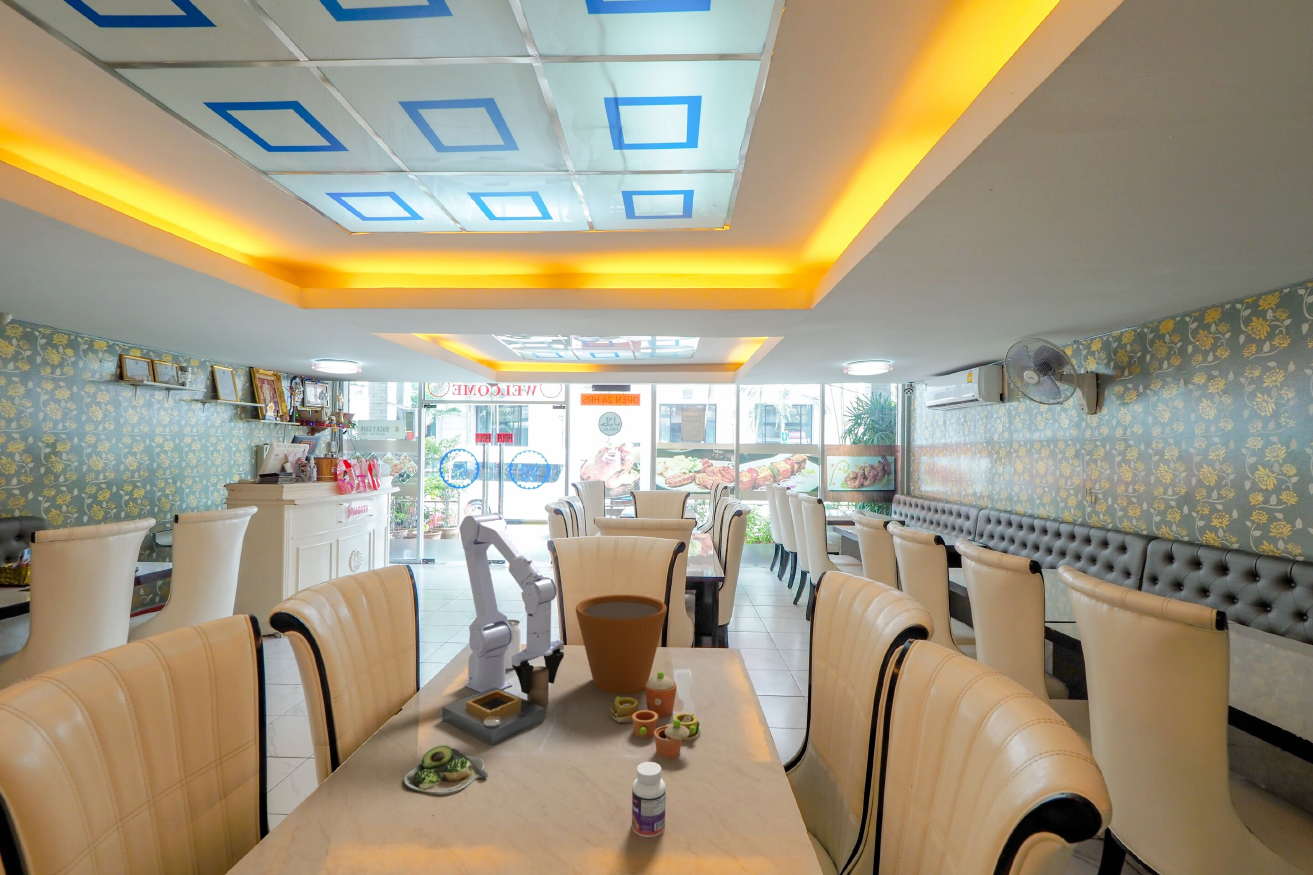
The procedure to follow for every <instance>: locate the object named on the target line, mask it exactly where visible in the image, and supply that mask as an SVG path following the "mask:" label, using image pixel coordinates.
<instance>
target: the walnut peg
mask: <svg viewBox="0 0 1313 875" xmlns="http://www.w3.org/2000/svg"><path fill="white" fill-rule="evenodd" d="M549 685H550V684H549V669H548V668H547V667H545V666H543V665H542V666H541V665H540V666H537V665H536V666H534V668H533V671H532V675H531V684H530V693H529V694H526V700H527V701H529V702H532V703H534V704H536V705H539V706H541V707H544V708H545V707H547V706H549Z"/></svg>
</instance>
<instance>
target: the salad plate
mask: <svg viewBox="0 0 1313 875" xmlns="http://www.w3.org/2000/svg"><path fill="white" fill-rule="evenodd" d="M484 769H485V761H484V760H483V759H482V758H481V757H478V756H472V755H466V754H463V753H461V751H460V750H458V749H456V748H454V747H450V746H448V745H438V746H435V747H433V748H430V749H429V750H428V751H427V752H425V754H424V755H423V757H422V759H421V763H420V764H418V765H417V766H415V767H414V768H412V770H410V771H409V772H408V773H406V774H405V775H404V777H403V779H402V780H403V786H404V788H406V789H407V790H409V791H411V792H415V793H422V794H423V793H424V794H427V795H439V796H446V795H452V794H455V793H458V792H459V793H460V792H461V791H462V790H465V789H466V788H467V787H469V785H471V784H472V783H473V782H475V781H476V780H477V779H479V778H481V779H485V778H488V777H489V773H488V772H486V770H484ZM441 774H443V775H441ZM461 780H464V781H463V782H462V783H460V785H458V786H457V787H455V788H450V789H446V790H438V791H436V790H434V791H431V790H426V789H430V788H432V787H434V786H436V785H439V784H441V783H442V782H444V781H448V782H451V783H452V782H456V781H461ZM440 782H441V783H440ZM423 789H424V790H423Z"/></svg>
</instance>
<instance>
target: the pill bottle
mask: <svg viewBox="0 0 1313 875" xmlns="http://www.w3.org/2000/svg"><path fill="white" fill-rule="evenodd" d="M631 794H632V795H631V797H632V798H631V828H632V831H633V832H634V833H635V834H637V835H638V836H640V837H645V838H651V837H657V836H660V835H661V834H662V833H663V832H664V831H665V829H666V783H665V780H663V778H662V766H661V765H660V764H658V763H657V762H654V761H653V762H652V761H644V762H641V763H640V764H638V765H637V767H636V779H634V781H633V783H632V790H631Z"/></svg>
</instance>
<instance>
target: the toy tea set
mask: <svg viewBox="0 0 1313 875" xmlns="http://www.w3.org/2000/svg"><path fill="white" fill-rule="evenodd" d="M644 691H645V697H646V698H645V699H646V706H647V710H646V709H644V710H643V709H642V710H639V709H638V707H639V701H638V700H637V699H636V698H633V697H630V696H629V697H628V696H626V697H625V696H623V697H621V696H620V695H619V696H616V697H615V698H614V706H615V707H614V708H615V709H614V710H612V708H609V710H610V711H611V712H612V713H611V717H612V719H613V720H615V721H617V723H625V724H626V723H632V726H633V733H634V735H635V736H637V737H638V738H651V737H654V742H655V749H656V754H657V756H659V757H661V758H665V759H672V758H673V759H674V758H676V757H678V756H679V755H680V753H681V747H682V742H683V741H693V740H696V739H698V738H699V737H700V736H701V735H702V733H701V732H702V731H701V728H700V726H701V725H700V721H699V719H698V717H697V716H696V715H695V714H694V713H687V712H681V713H677V714H675V715H674V716H673V717H672V721H673V722H672V723H668V724H666V725H662V726H660V727H658V726H657V725H658V720H659V718H665V717H670V716H671V715H672V714H673V712H674V708H675V699H676V694H677V684H676V682H675V681H673V679H671V678H670V677H668V676H666V675H665V673H664V672H663V671H658V672H657V675H654V676H653V677H651V678H649V680H648V681H647V682H646V683H645V689H644Z"/></svg>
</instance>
